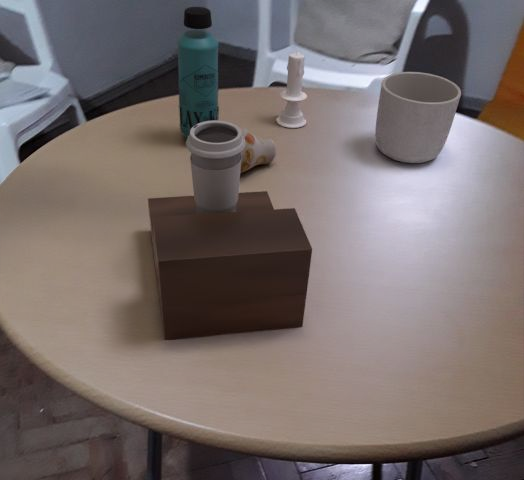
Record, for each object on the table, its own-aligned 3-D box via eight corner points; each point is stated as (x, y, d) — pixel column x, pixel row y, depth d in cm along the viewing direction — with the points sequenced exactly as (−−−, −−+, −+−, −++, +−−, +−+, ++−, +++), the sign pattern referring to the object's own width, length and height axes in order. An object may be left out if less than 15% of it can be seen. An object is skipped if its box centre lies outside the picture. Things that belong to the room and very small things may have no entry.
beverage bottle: (171, 137, 105) (164, 6, 91) (203, 126, 109) (200, -1, 95) (195, 152, 102) (192, 19, 88) (227, 140, 106) (228, 11, 92)
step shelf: (150, 230, 86) (143, 155, 78) (265, 222, 89) (269, 149, 81) (164, 340, 71) (158, 261, 63) (302, 326, 73) (312, 249, 66)
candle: (279, 113, 114) (284, 44, 106) (308, 117, 113) (315, 47, 105) (273, 126, 110) (278, 55, 102) (303, 130, 110) (310, 59, 101)
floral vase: (288, 168, 100) (274, 128, 91) (236, 201, 100) (217, 164, 91) (266, 138, 103) (250, 96, 94) (216, 170, 103) (195, 131, 94)
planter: (395, 175, 100) (410, 108, 92) (356, 141, 108) (367, 76, 100) (458, 163, 104) (477, 97, 96) (416, 130, 112) (431, 67, 104)
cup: (207, 202, 82) (205, 113, 74) (252, 217, 80) (256, 126, 72) (178, 229, 77) (173, 137, 69) (226, 245, 76) (227, 152, 67)
